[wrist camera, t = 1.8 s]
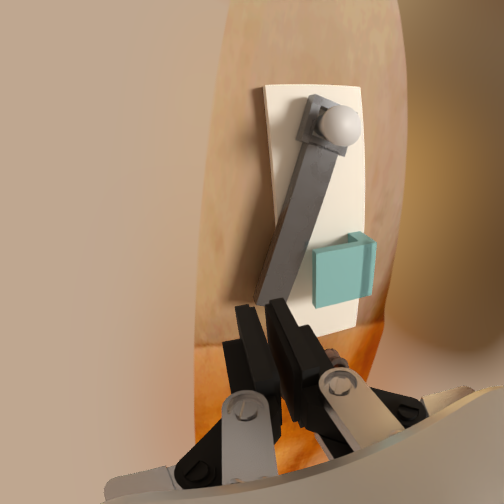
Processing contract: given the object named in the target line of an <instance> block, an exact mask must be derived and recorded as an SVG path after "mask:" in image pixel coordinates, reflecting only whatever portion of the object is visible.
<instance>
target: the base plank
mask: <svg viewBox="0 0 504 504" xmlns="http://www.w3.org/2000/svg"><path fill="white" fill-rule="evenodd" d="M313 94H317V95H319V96H321V97H324V98H326V99H329V100H331V101H333V102H335V103H338V104H340V105H338V106H333V107H331V108H329V109H328V110H327V111H324V110H321V109H320V111H319V114H318V117H317V121H316V124H315V127H314V131H313V134H312V135H313V136H316V137H319V138H321V139H324V140H327V141H329V142H331V143H332V144H334V145H337V146H343V147H346V146H348V148H347V151H346V155H345V157H342V156H338V157H337V160H336V163H335V166H334V170H333V173H332V176H331V179H330V182H329V185H328V188H327V191H326V194H325V197H324V200H323V203H322V206H321V209H320V212H319V215H318V218H317V221H316V224H315V226H314V229H313V232H312V235H311V238H310V241H309V243H308V246H307V249H306V252H305V255H304V257H303V260H302V263H301V265H300V268H299V271H298V274H297V276H296V279H295V281H294V284H293V287H292V289H291V292H290V295H289V297H288V300H287V302H286V304H287V305H288V307H289V309H290V311H291V313H292V315H293V317H294V319H295V320H296V322H297V324H298V326H303V325H307V324H308V325H310V327H311V328H312V330H313V332H314V334H315V335H316V337H319V336H323V335H327V334H331V333H334V332H338V331H341V330H345V329H348V328H352V327H355V326H356V318H357V310H358V302H359V298H357V299H354V300H350V301H346V302H342V303H338V304H334V305H330V306H326V307H322V308H317V309H315V307H314V305H313V304H312V249H317V248H323V247H329V246H334V245H340V244H345V243H348V233H352V232H358V231H361V232H362V233H364V218H365V152H364V129H363V114H362V101H361V90H360V87H354V86H340V85H315V84H281V85H265V86H263V95H264V105H265V114H266V124H267V134H268V145H269V156H270V167H271V178H272V190H273V202H274V215H275V228H276V225H277V222H278V219H279V216H280V212H281V209H282V206H283V203H284V200H285V197H286V193H287V190H288V187H289V184H290V181H291V177H292V174H293V171H294V168H295V165H296V161H297V158H298V155H299V152H300V148H301V145H302V142H299V141H296V140H295V139H296V136H297V132H298V129H299V126H300V123H301V119H302V116H303V113H304V109H305V106H306V103H307V99H308V96H309V95H313ZM356 112H357V113H358V114H357V113H356Z"/></svg>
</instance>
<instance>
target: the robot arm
mask: <svg viewBox="0 0 504 504" xmlns="http://www.w3.org/2000/svg"><path fill="white" fill-rule="evenodd" d="M235 312H236V318H237V324H238V330H239V336H240V339H236V340H231V341H225V342H222V344H223V350H224V356H225V362H226V367H227V373H228V378H229V384H230V389H231V395H230V396H229V397H228V398H226V400H225V401H224V403H223V406H222V418H221V419H220V420H219V421H218V422H217V423H216V424H215V425H214V427H213V428H212V429H211V430H210V431H209V432H208V433H207V434H206V435H205V436H204V437H203V438H202V439H201V440H200V441H199V442H198V443H197V444H196V445H195V446H194V447H193V448H192V449H191V450H190V451H189V452H188V453H187V454H186V455H185V456H184V457H183V458H182V459H181V460H180V461H179V462H178V463H177V464H176V465H174V466H171V467H166V466H162V467H158V468H155V469H151V470H147V471H143V472H138V473H134V474H129V475H124V476H119V477H115V478H113V479H111V480H109V481H108V482H107V484H106V486H105V488H104V495H105V499H106V501H105V502H103V503H101V504H504V386H502V385H500V386H493V387H488V388H484V389H481V390H478V391H475V390H473V389H472V388H471V387H468V386H460V387H456V388H453V389H449V390H446V391H442V392H439V393H435V394H431V395H427V396H423V397H422V398H421V399H420V400H417V399H415V398H412V397H407V396H403V395H399V394H395V393H391V392H387V391H383V390H379V389H375V388H372V387H369V386H368V385H367V384H366V383H365V381H364V380H363V379H362V378H361V377H360V376H359V374H357V373H356V372H355V371H353V370H351V369H349V368H344V367H337V368H334V366H333V365H332V363H331V361H330V359H329V358H328V356H327V354H326V352H325V351H324V349H323V347H322V346H321V344H320V342H319V340H318V339H317V337H316V335H315V334H314V332H313V330H312V328H311V327H310V325H308V324H307V325H303V326H298V324H297V322H296V320H295V319H294V317H293V315H292V313H291V311H290V309H289V307H288V305H287V304H286V302H285V300H284V298H283V297H282V298H277V299H272V300H269V304H265V315H266V326H267V337H268V343H267V340H266V337H265V335H264V332H263V329H262V326H261V323H260V321H259V318H258V315H257V312H256V309H255V307H249V304H246V305H240V306H235ZM280 388H281V391H282V394H283V396H284V399H285V402H286V405H287V407H288V410H289V413H290V416H291V418H292V421H293V422H296V421H298V423H299V426H300V428H302V427H305V428H306V429H307V430H309V431H312V432H314V435H315V438H316V439H317V441H318V443H319V444H320V446H321V447H322V449H323V451H324V452H325V454H326V456H327V457H328V459H329V460H330V461H328V462H324V463H321V464H318V465H315V466H312V467H308V468H305V469H301V470H297V471H294V472H290V473H286V474H282V475H278V471H277V464H276V457H275V449H274V445H275V443H276V442H277V441H278V439H279V438H280V437H281V425H282V409H281V391H280Z"/></svg>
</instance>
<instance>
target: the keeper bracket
mask: <svg viewBox="0 0 504 504" xmlns="http://www.w3.org/2000/svg"><path fill="white" fill-rule="evenodd" d="M376 246H377V242H375V241H374V240H373V239H371V238H370V237H368V236H367V235H365V234H364V233H362V232H361V231H358V232H352V233H348V243H345V244H340V245H334V246H329V247H323V248H317V249H312V304H313V305H314V307H315V309H317V308H322V307H326V306H330V305H334V304H338V303H342V302H346V301H350V300H354V299H357V298H361V297H365V296H369V295H371V294H372V286H373V278H374V268H375V258H376Z"/></svg>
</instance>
